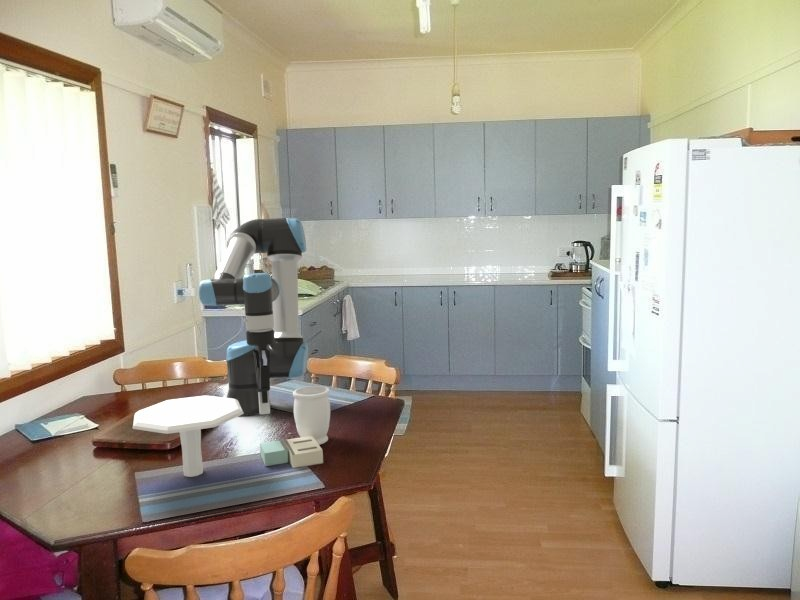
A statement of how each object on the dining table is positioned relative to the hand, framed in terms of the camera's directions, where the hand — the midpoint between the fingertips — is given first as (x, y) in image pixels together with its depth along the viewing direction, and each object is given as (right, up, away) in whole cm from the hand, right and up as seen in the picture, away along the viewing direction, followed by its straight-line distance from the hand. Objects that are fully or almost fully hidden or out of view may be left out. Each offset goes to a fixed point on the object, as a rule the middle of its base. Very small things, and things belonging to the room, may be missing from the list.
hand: (264, 413), depth 177 cm
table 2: (-15, -13, -15) cm, 25 cm away
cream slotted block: (+12, -11, -7) cm, 17 cm away
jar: (+13, -9, +6) cm, 17 cm away
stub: (+4, -11, -7) cm, 14 cm away
